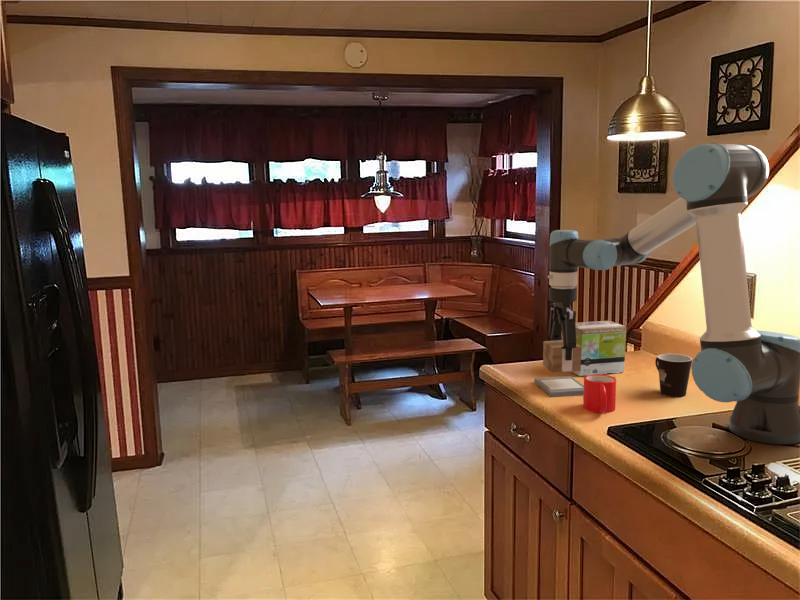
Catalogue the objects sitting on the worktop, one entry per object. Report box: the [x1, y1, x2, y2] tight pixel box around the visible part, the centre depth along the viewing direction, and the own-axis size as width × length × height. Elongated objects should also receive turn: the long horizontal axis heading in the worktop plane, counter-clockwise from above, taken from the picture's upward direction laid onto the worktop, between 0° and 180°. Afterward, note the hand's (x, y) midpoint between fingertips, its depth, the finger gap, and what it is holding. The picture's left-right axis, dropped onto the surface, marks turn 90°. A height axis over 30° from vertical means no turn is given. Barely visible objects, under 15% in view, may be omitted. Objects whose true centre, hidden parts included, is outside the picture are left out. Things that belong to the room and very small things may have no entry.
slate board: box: [534, 375, 584, 398], centre depth 186 cm, size 14×11×1 cm
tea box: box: [572, 320, 627, 377], centre depth 202 cm, size 15×10×15 cm
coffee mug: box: [654, 353, 693, 398], centre depth 180 cm, size 12×9×10 cm
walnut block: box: [542, 339, 581, 374], centre depth 185 cm, size 8×8×7 cm
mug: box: [582, 374, 617, 414], centre depth 167 cm, size 8×12×8 cm, turn 174°
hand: (561, 366), depth 186 cm, fingers closed on walnut block, 8 cm apart
